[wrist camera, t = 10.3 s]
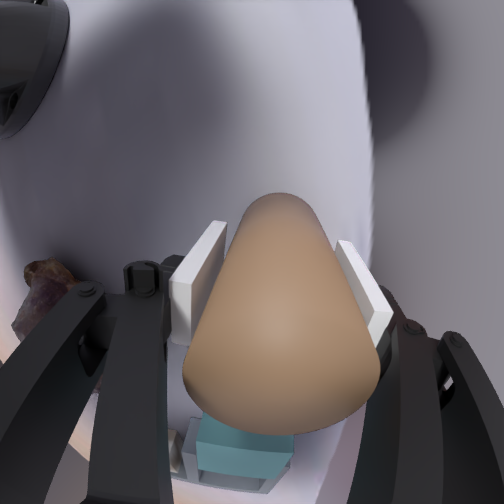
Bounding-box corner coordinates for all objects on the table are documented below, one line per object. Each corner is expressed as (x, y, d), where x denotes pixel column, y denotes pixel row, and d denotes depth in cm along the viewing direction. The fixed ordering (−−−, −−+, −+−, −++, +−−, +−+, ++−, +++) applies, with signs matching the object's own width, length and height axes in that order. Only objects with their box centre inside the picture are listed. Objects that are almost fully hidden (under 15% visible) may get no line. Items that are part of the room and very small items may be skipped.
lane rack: (115, 394, 27) (99, 423, 22) (290, 431, 26) (290, 467, 22) (135, 439, 32) (125, 462, 28) (269, 467, 32) (267, 493, 27)
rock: (74, 331, 25) (149, 355, 24) (39, 387, 18) (117, 427, 17) (37, 243, 19) (120, 259, 18) (-22, 302, 12) (54, 346, 11)
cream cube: (143, 423, 29) (132, 450, 25) (177, 430, 29) (167, 460, 24) (154, 439, 31) (145, 464, 27) (185, 445, 31) (177, 473, 26)
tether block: (237, 185, 16) (156, 288, 5) (334, 201, 16) (429, 324, 5) (216, 389, 24) (191, 499, 13) (277, 398, 24) (272, 510, 13)
